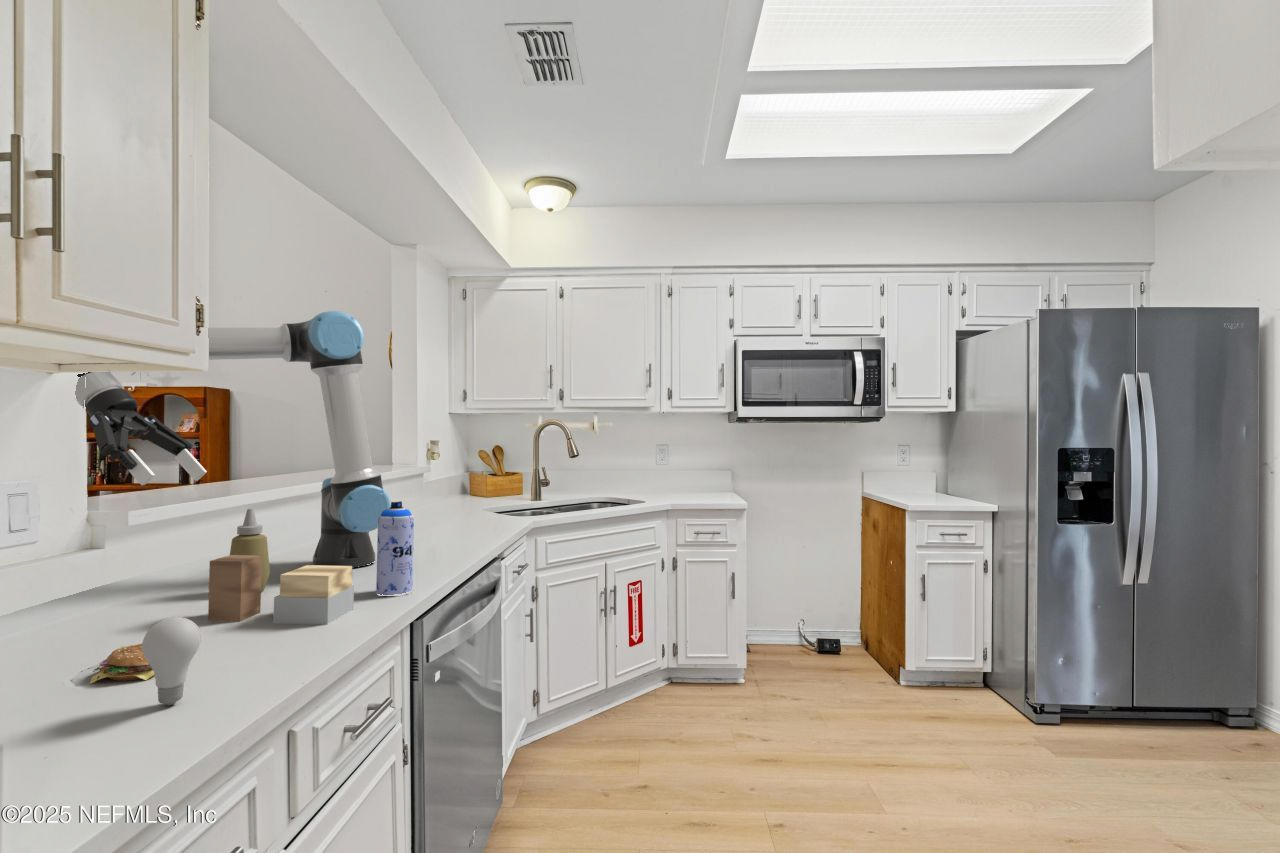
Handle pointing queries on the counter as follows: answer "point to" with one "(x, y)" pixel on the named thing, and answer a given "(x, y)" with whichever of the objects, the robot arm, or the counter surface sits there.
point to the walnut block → (234, 587)
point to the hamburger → (125, 665)
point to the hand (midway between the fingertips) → (176, 478)
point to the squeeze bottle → (252, 543)
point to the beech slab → (315, 581)
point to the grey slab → (313, 608)
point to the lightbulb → (171, 655)
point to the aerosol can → (395, 550)
